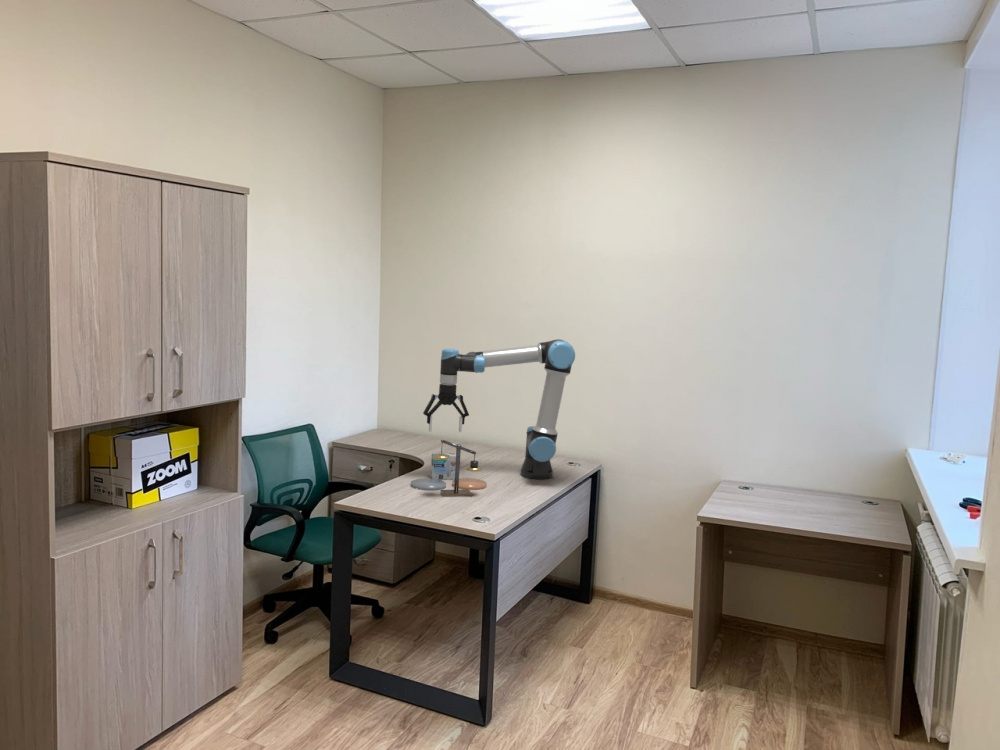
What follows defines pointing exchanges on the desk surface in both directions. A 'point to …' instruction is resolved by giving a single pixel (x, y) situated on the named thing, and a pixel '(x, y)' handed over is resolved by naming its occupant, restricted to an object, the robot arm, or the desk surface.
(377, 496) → the desk surface
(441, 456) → the balance
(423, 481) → the slate dish
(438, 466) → the light bulb box
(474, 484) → the terracotta dish
